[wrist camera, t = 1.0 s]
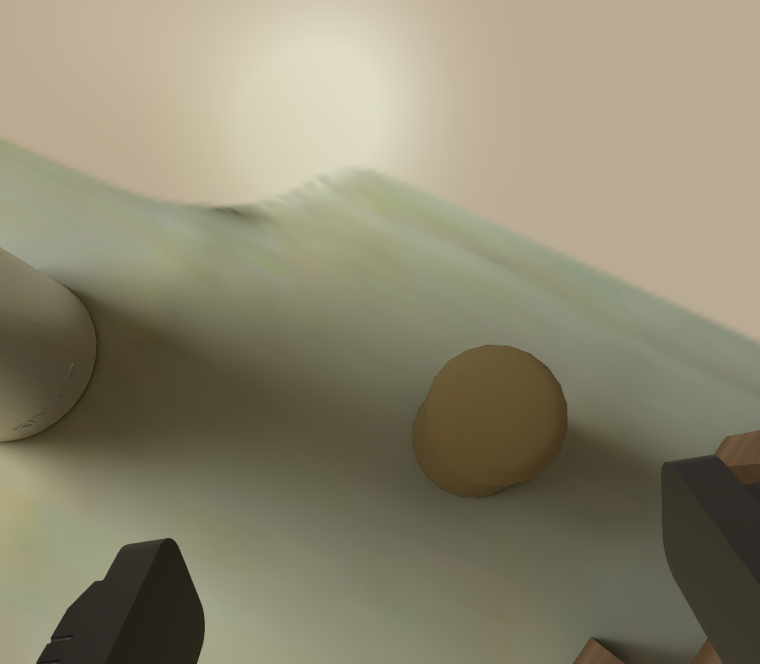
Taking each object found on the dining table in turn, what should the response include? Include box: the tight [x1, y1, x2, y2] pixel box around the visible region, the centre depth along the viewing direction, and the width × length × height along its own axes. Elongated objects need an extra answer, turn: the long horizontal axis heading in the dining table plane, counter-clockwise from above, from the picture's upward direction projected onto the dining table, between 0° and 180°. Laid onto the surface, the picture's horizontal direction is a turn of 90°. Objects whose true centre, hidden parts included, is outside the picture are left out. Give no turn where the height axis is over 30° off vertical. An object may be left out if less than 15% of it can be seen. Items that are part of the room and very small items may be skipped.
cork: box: [413, 345, 567, 498], centre depth 27 cm, size 6×6×11 cm
